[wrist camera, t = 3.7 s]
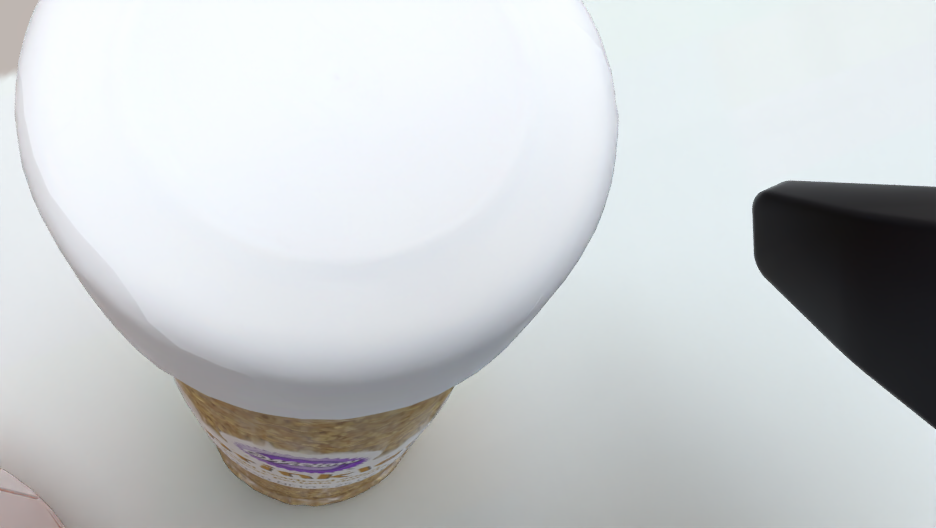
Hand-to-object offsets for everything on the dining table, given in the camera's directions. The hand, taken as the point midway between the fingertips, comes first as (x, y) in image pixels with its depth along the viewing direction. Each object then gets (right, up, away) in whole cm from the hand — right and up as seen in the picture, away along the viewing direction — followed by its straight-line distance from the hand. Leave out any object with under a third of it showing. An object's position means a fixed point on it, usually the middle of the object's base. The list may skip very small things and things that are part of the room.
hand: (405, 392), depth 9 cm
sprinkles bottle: (-3, -2, +10) cm, 11 cm away
